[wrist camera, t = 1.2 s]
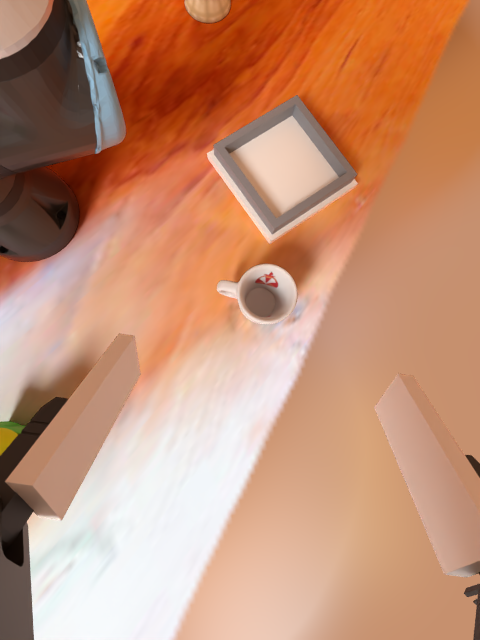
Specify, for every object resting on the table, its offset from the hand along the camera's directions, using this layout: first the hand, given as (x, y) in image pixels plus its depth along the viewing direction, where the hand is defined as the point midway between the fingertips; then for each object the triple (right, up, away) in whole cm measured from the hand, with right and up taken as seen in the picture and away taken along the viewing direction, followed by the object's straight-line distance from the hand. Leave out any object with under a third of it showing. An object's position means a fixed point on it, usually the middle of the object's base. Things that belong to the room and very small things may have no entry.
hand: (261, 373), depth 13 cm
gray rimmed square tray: (+6, +28, +30) cm, 41 cm away
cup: (+1, +6, +28) cm, 28 cm away
